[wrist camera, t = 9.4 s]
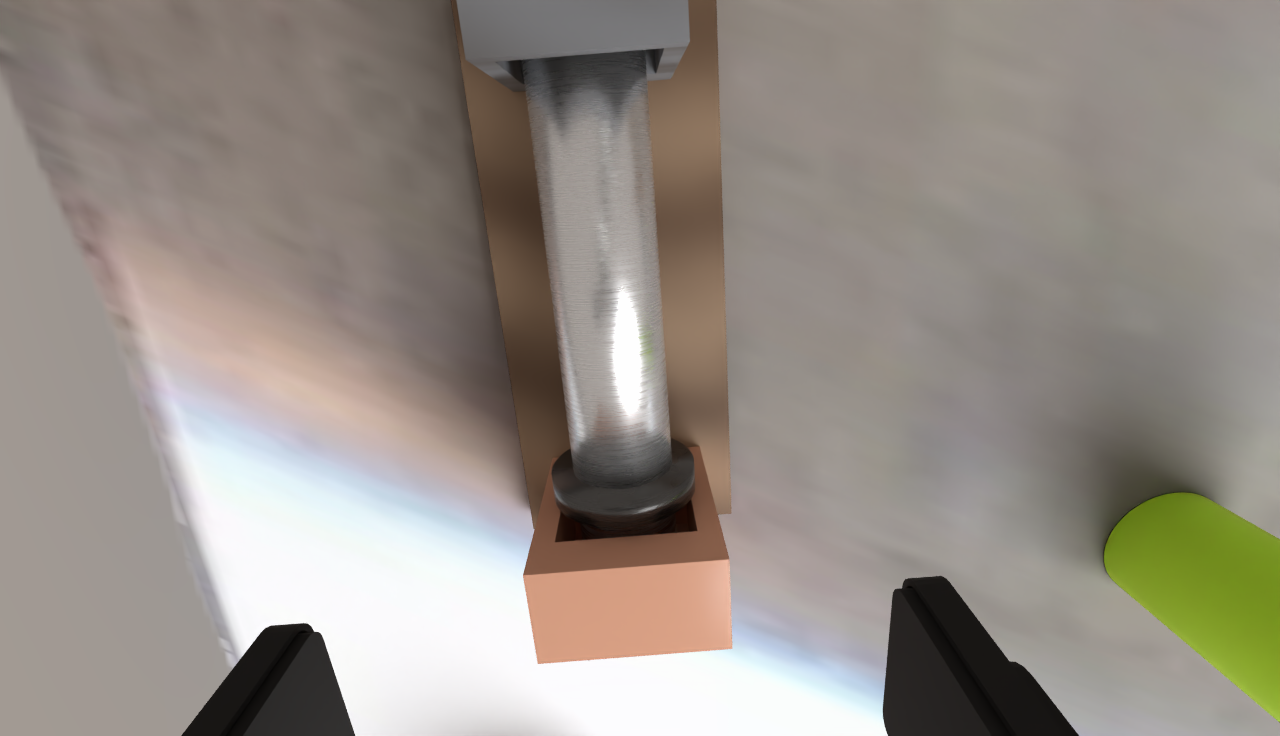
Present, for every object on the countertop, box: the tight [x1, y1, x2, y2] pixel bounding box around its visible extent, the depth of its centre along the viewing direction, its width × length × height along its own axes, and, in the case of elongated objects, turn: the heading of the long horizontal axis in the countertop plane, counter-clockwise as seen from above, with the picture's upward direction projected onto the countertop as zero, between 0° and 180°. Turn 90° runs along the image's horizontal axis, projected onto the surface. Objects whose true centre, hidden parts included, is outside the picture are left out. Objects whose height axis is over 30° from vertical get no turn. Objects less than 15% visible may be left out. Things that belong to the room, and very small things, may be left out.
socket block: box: [523, 446, 732, 664], centre depth 22 cm, size 4×6×8 cm, turn 94°
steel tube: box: [522, 50, 695, 540], centre depth 19 cm, size 21×5×5 cm, turn 4°
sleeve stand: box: [451, 0, 731, 529], centre depth 20 cm, size 28×9×8 cm, turn 4°
